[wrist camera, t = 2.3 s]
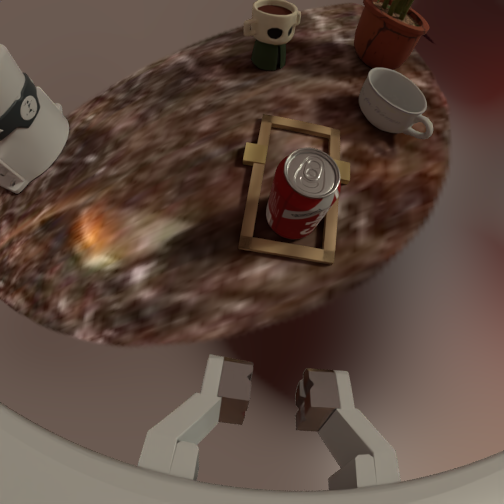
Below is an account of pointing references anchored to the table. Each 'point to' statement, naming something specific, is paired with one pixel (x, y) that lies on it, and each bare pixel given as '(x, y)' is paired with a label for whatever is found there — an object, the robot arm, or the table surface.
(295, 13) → the character mug
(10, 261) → the table surface
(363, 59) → the potted plant
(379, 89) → the teacup
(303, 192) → the soda can
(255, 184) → the wooden rectangular frame
